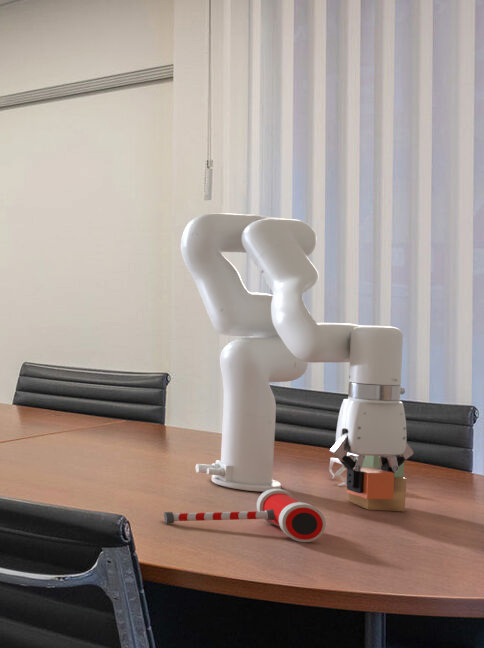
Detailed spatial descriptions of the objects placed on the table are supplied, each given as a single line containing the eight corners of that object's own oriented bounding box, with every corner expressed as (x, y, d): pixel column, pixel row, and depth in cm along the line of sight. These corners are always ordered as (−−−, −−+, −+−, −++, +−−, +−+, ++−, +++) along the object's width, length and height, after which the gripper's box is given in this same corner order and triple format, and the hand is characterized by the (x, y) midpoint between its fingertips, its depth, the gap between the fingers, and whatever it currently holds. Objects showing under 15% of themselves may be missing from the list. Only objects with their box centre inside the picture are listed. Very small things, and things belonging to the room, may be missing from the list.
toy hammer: (174, 532, 145) (176, 496, 145) (155, 514, 157) (157, 480, 156) (325, 544, 140) (327, 506, 140) (294, 524, 151) (296, 489, 151)
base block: (367, 509, 162) (369, 476, 162) (348, 501, 168) (350, 469, 168) (404, 511, 161) (406, 478, 161) (384, 502, 167) (386, 471, 167)
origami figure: (316, 482, 184) (318, 460, 183) (329, 477, 189) (330, 455, 189) (385, 494, 174) (386, 470, 174) (396, 488, 179) (398, 465, 179)
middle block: (372, 476, 162) (374, 447, 162) (353, 470, 167) (354, 442, 167) (403, 477, 161) (405, 448, 161) (382, 471, 167) (384, 443, 167)
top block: (367, 499, 153) (368, 472, 153) (347, 492, 158) (348, 467, 158) (393, 499, 153) (394, 473, 153) (372, 492, 158) (373, 467, 158)
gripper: (403, 391, 159) (399, 487, 159) (313, 390, 158) (309, 486, 159) (437, 396, 151) (433, 496, 152) (343, 395, 151) (339, 496, 152)
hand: (369, 490), depth 156 cm, fingers closed on top block, 4 cm apart
